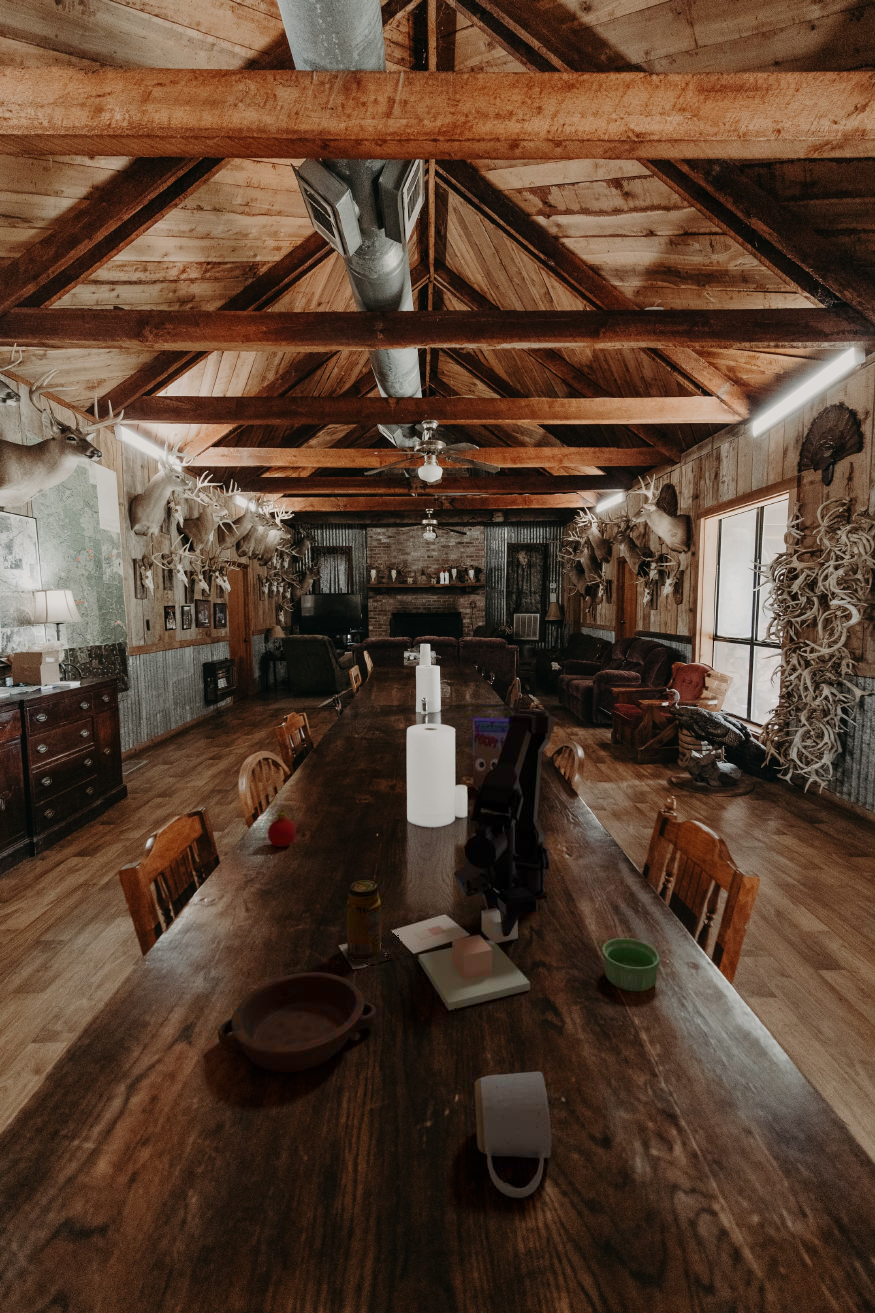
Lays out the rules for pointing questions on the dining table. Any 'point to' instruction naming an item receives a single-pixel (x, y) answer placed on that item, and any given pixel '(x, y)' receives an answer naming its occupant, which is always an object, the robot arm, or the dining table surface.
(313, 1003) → the dish
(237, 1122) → the dining table surface
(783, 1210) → the dining table surface
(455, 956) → the terracotta brick
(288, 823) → the christmas ornament
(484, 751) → the cereal box
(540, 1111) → the ceramic mug
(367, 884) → the condiment
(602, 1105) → the dining table surface
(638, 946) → the ramekin
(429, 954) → the baseplate
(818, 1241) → the dining table surface
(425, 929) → the page
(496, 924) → the cream brick
